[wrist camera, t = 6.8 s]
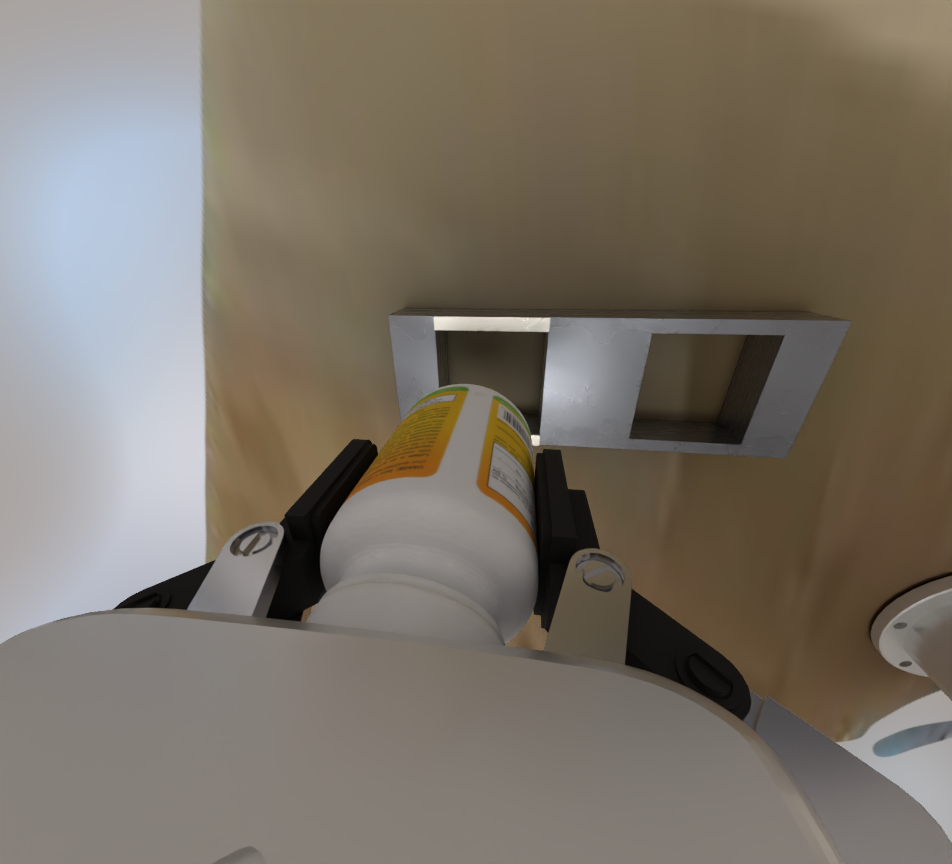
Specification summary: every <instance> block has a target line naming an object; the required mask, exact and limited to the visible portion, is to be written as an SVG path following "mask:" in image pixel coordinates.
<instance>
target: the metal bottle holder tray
mask: <svg viewBox="0 0 952 864" xmlns="http://www.w3.org/2000/svg"><path fill="white" fill-rule="evenodd" d="M388 319H389V327H390V336H391V344H392V352H393V360H394V368H395V376H396V385H397V393H398V401H399V409H400V417H401V421H402V420H403V419H404V417H405V416H406V415H407V413H408V412H409V411H410V409H411V408H412V407H413V406H414V404H415V403H416V402H417V401H418V400H419V399H421V398H422V397H423V396H425V395H426V394H427V393H429V392H431V391H433V390H435V389H438V388H440V387H444V386H448V385H449V376H448V355H447V334H446V330H457V331H515V332H545V342H544V354H543V366H542V378H541V390H540V402H539V414H538V415H528V414H522V415H523V417H524V418H525V420H526V422H527V424H528V427H529V430H530V434H531V439H532V445H533V446H539V444H542V445H560V446H578V447H596V448H614V449H631V450H649V451H667V452H685V453H703V454H721V455H739V456H757V457H775V458H786V457H787V455H788V453H789V451H790V449H791V447H792V445H793V443H794V441H795V439H796V437H797V434H798V432H799V430H800V428H801V426H802V424H803V422H804V420H805V418H806V416H807V414H808V412H809V410H810V407H811V405H812V403H813V401H814V399H815V397H816V395H817V393H818V391H819V389H820V387H821V385H822V382H823V380H824V378H825V376H826V374H827V372H828V370H829V368H830V366H831V364H832V362H833V360H834V358H835V355H836V353H837V351H838V349H839V347H840V345H841V343H842V341H843V339H844V337H845V335H846V333H847V331H848V328H849V326H850V324H851V322H852V321H850V320H845V319H840V318H835V317H830V316H826V315H821V314H816V313H811V312H761V311H653V310H545V309H437V308H404V309H401V310H399V311H397V312H395V313H392V314H390V315H388ZM652 333H677V334H737V335H748V336H747V339H746V342H745V345H744V347H743V350H742V353H741V356H740V359H739V362H738V364H737V367H736V370H735V373H734V376H733V379H732V381H731V384H730V387H729V390H728V393H727V396H726V399H725V401H724V404H723V407H722V410H721V413H720V416H719V418H718V421H717V423H703V422H681V421H659V420H637V419H633V418H634V413H635V409H636V404H637V400H638V395H639V391H640V387H641V382H642V378H643V373H644V369H645V364H646V360H647V355H648V351H649V347H650V342H651V338H652Z"/></svg>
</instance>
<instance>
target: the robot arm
mask: <svg viewBox="0 0 952 864" xmlns="http://www.w3.org/2000/svg"><path fill="white" fill-rule="evenodd" d="M377 456H378V452H377V447H376V445H375V444H372V442H371V441H370V440H359V439H353V440H352V441H351V442H350V443H349V444H348V445H347V446H346V447H345V448H344V450H343V451H342V452H341V453H340V454H339V455H338V456H337V457H336V458H335V460H334V461H333V462H332V463H331V464H330V465H329V466H328V467H327V468H326V469H325V471H324V472H323V473H322V474H321V475H320V476H319V477H318V478H317V479H316V481H315V482H314V483H313V484H312V485H311V486H310V487H309V488H308V489H307V490H306V492H305V493H304V494H303V495H302V496H301V497H300V498H299V499H298V500H297V502H296V503H295V504H294V505H293V506H292V507H291V508H290V509H289V510H288V512H287V513H286V514H285V518H284V519H283V520H282V521H281V522H280V524H278V523H275V522H262V523H257V524H253V525H251V526H248V527H246V528H244V529H242V530H241V531H239V532H237V533H236V534H235V535H233V536H232V537H231V538H230V539H229V540H228V541H227V543H226V544H225V545H224V547H223V549H222V551H221V552H220V554H219V556H218V557H217V559H216V560H214V561H212V562H209V563H207V564H205V565H202V566H200V567H197V568H195V569H193V570H190V571H188V572H186V573H183V574H180V575H178V576H176V577H173V578H171V579H168V580H166V581H164V582H161V583H159V584H156V585H154V586H152V587H149V588H147V589H144V590H142V591H140V592H138V593H136V594H134V595H132V596H130V597H129V598H127V599H126V600H124V601H123V602H121V603H120V604H119V605H118V606H117V607H115V608H114V609H113V610H106V611H98V612H90V613H85V614H81V615H77V616H72V617H68V618H63V619H60V620H56V621H53V622H50V623H47V624H44V625H40V626H38V627H35V628H32V629H29V630H27V631H24V632H22V633H20V634H18V635H16V636H14V637H12V638H10V639H8V640H7V641H5V642H3V643H2V644H0V864H952V843H951V842H950V840H949V838H948V837H947V835H946V834H945V832H944V831H943V829H942V827H941V826H940V825H939V824H938V823H937V822H936V820H935V819H934V818H933V817H932V816H931V815H930V814H929V813H928V812H927V810H926V809H925V808H924V807H923V806H922V805H921V804H920V803H919V802H917V801H916V800H915V799H914V798H913V797H911V796H910V795H909V794H908V793H906V792H905V791H904V790H903V789H901V788H900V787H899V786H898V785H896V784H895V783H893V782H892V781H890V780H889V779H887V778H886V777H885V776H883V775H882V774H880V773H879V772H877V771H876V770H874V769H873V768H872V767H870V766H869V765H867V764H866V763H864V762H863V761H861V760H860V759H858V758H857V757H856V756H854V755H853V754H851V753H850V752H848V751H847V750H846V749H844V748H843V747H841V746H840V745H838V744H837V743H835V742H834V741H832V740H831V739H830V738H828V737H827V736H825V735H824V734H822V733H821V732H819V731H818V730H817V729H815V728H814V727H812V726H811V725H809V724H808V723H806V722H805V721H804V720H802V719H801V718H799V717H798V716H796V715H795V714H793V713H792V712H791V711H789V710H788V709H786V708H785V707H783V706H782V705H780V704H779V703H778V702H776V701H775V700H773V699H772V698H770V697H769V696H766V697H765V698H764V700H763V699H762V698H761V697H759V696H758V695H756V694H755V693H753V692H752V691H751V690H749V688H748V686H747V684H746V682H745V680H744V678H743V676H742V675H741V674H740V672H739V671H738V670H737V669H736V668H735V666H734V665H733V664H732V663H731V662H730V661H729V660H727V659H726V658H725V657H724V656H723V655H722V654H720V653H719V652H718V651H716V650H715V649H714V648H712V647H711V646H709V645H708V644H707V643H705V642H704V641H703V640H701V639H700V638H698V637H697V636H696V635H694V634H693V633H692V632H690V631H689V630H688V629H686V628H685V627H683V626H682V625H681V624H679V623H678V622H677V621H675V620H674V619H672V618H671V617H670V616H668V615H667V614H666V613H664V612H663V611H661V610H660V609H659V608H657V607H656V606H655V605H653V604H652V603H651V602H649V601H648V600H646V599H645V598H644V597H642V596H641V595H640V594H638V593H637V592H635V591H634V590H633V589H631V588H632V578H631V573H630V571H629V569H628V567H627V566H626V565H625V564H624V563H623V562H622V560H621V559H619V558H618V557H616V556H615V555H613V554H611V553H609V552H607V551H604V550H600V547H599V543H598V540H597V536H596V532H595V528H594V524H593V520H592V516H591V512H590V509H589V505H588V501H587V497H586V494H585V491H584V490H572V489H568V487H567V482H566V477H565V472H564V466H563V461H562V456H561V451H560V450H551V449H543V453H537V456H536V467H535V479H534V480H535V502H536V525H537V545H538V563H539V569H538V573H539V581H538V593H537V599H536V603H535V606H534V615H541V628H545V630H546V631H547V632H548V636H547V640H546V643H545V647H544V650H543V651H540V650H532V649H525V648H518V647H510V646H502V645H494V644H485V643H477V642H469V641H461V640H453V639H444V638H436V637H428V636H420V635H411V634H403V633H394V632H386V631H377V630H369V629H360V628H351V627H343V626H334V625H325V624H317V623H308V622H306V621H307V619H308V617H309V615H310V613H311V606H313V605H315V604H316V603H317V604H318V603H319V601H320V600H321V598H322V597H323V596H324V594H325V593H326V592H327V591H326V589H325V586H324V583H323V580H322V576H321V571H320V552H321V546H322V542H323V539H324V536H325V534H326V532H327V529H328V527H329V525H330V524H331V522H332V520H333V519H334V517H335V516H336V514H337V512H338V511H339V509H340V508H341V506H342V505H343V503H344V502H345V501H346V499H347V498H348V496H349V495H350V493H351V492H352V490H353V489H354V488H355V486H356V485H357V484H358V482H359V481H360V479H361V478H362V477H363V475H364V474H365V472H366V471H367V470H368V468H369V467H370V466H371V464H372V463H373V461H374V460H375V459H376V457H377ZM871 640H872V643H873V645H874V646H875V648H876V649H877V651H878V652H879V653H880V654H881V655H882V656H883V657H884V658H885V659H886V660H887V661H888V662H889V663H890V664H892V665H893V666H894V667H896V668H898V669H901V670H903V671H906V672H908V673H912V674H916V675H920V676H924V677H930V678H931V679H932V681H933V682H934V683H935V684H936V685H937V686H938V687H939V688H940V689H941V690H942V691H943V692H944V693H945V694H946V695H947V696H948V697H949V698H950V699H951V700H952V576H948V577H945V578H942V579H938V580H935V581H932V582H929V583H927V584H924V585H922V586H920V587H917V588H915V589H913V590H911V591H909V592H907V593H905V594H904V595H902V596H900V597H898V598H897V599H896V600H894V601H893V602H892V603H890V604H889V605H888V606H886V607H885V608H884V610H883V611H882V612H881V613H880V614H879V615H878V616H877V618H876V620H875V621H874V623H873V625H872V630H871Z"/></svg>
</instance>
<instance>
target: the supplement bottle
mask: <svg viewBox="0 0 952 864" xmlns="http://www.w3.org/2000/svg"><path fill="white" fill-rule="evenodd" d="M538 569H539V563H538V545H537V525H536V502H535V480H534V459H533V447H532V439H531V434H530V430H529V427H528V424H527V422H526V420H525V418H524V417H523V415H522V414H521V412H520V411H519V410H518V408H517V407H516V406H515V405H514V404H513V403H512V402H511V401H510V400H508V399H507V398H506V397H504V396H503V395H501V394H500V393H498V392H496V391H494V390H492V389H489V388H486V387H483V386H479V385H473V384H453V385H448V386H444V387H440V388H438V389H435V390H433V391H431V392H429V393H427V394H426V395H425V396H423V397H422V398H421V399H419V400H418V401H417V402H416V403H415V404H414V406H413V407H412V408H411V409H410V411H409V412H408V413H407V415H406V416H405V417H404V419H403V420H402V421H401V423H400V425H399V426H398V428H397V429H396V430H395V432H394V433H393V434H392V436H391V437H390V439H389V440H388V441H387V443H386V444H385V446H384V447H383V449H382V450H381V451H380V453H379V454H378V456H377V457H376V459H375V460H374V461H373V463H372V464H371V466H370V467H369V468H368V470H367V471H366V472H365V474H364V475H363V477H362V478H361V479H360V481H359V482H358V484H357V485H356V486H355V488H354V489H353V490H352V492H351V493H350V495H349V496H348V498H347V499H346V501H345V502H344V503H343V505H342V506H341V508H340V509H339V511H338V512H337V514H336V516H335V517H334V519H333V520H332V522H331V524H330V525H329V527H328V529H327V532H326V534H325V536H324V539H323V542H322V546H321V552H320V571H321V576H322V580H323V583H324V586H325V589H326V591H327V592H326V593H325V594H324V596H323V597H322V598H321V600H320V601H319V603H318V604H317V605H316V606H315V607H314V609H313V610H312V612H311V613H310V615H309V617H308V619H307V621H306V622H308V623H317V624H325V625H334V626H343V627H351V628H360V629H369V630H377V631H386V632H394V633H403V634H411V635H420V636H428V637H436V638H444V639H453V640H461V641H469V642H477V643H485V644H494V645H502V646H505V644H506V643H507V642H508V641H510V640H511V639H512V638H513V637H515V636H516V635H517V634H518V633H519V632H520V630H521V629H522V628H523V627H524V625H525V624H526V622H527V620H528V619H529V617H530V615H531V613H532V611H533V609H534V606H535V603H536V599H537V593H538V581H539V573H538Z"/></svg>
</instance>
